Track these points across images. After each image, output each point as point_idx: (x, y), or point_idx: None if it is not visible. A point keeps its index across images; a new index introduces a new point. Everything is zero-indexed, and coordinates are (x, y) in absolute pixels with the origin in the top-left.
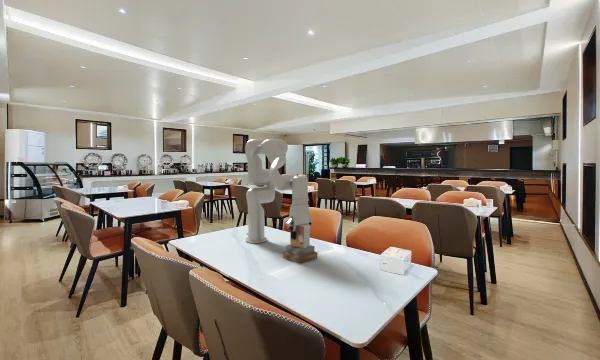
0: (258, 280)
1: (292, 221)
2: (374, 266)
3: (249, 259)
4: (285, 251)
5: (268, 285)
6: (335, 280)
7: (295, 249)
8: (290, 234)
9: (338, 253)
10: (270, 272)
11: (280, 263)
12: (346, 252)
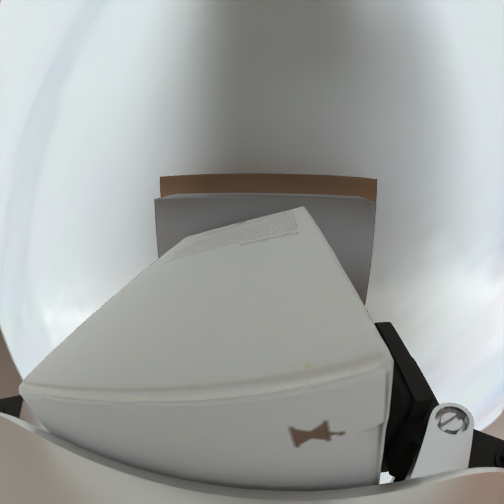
0: (13, 322)
1: (5, 495)
2: (388, 480)
3: (45, 91)
4: (183, 183)
5: (30, 366)
6: None
7: None
8: (129, 283)
9: (475, 346)
10: (47, 305)
11: (115, 251)
12: (497, 355)
